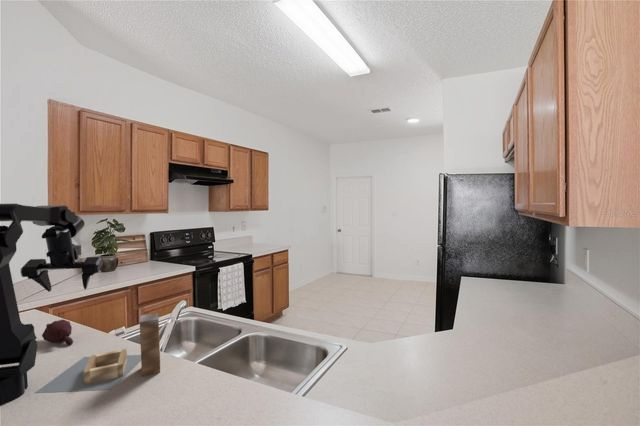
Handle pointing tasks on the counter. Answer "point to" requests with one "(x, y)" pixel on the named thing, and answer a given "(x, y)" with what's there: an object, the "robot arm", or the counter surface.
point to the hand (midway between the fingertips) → (68, 289)
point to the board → (75, 379)
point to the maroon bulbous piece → (58, 332)
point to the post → (150, 344)
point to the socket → (105, 366)
